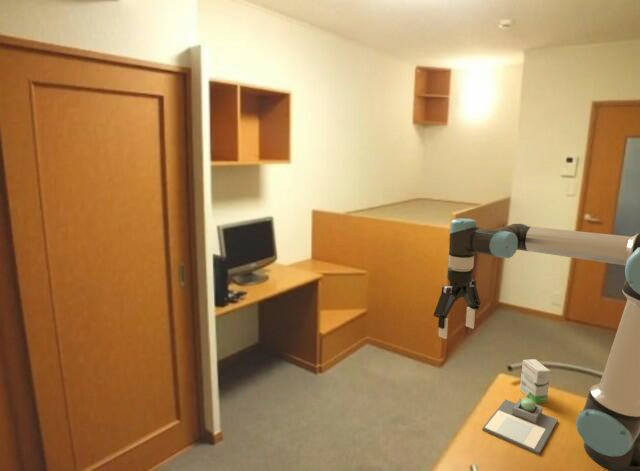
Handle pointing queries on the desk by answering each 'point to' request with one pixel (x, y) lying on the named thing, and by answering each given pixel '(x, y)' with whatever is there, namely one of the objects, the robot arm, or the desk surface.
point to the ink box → (535, 380)
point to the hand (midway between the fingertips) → (456, 332)
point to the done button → (528, 405)
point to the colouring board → (521, 426)
